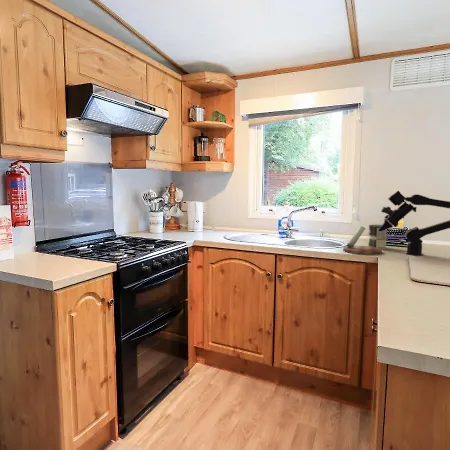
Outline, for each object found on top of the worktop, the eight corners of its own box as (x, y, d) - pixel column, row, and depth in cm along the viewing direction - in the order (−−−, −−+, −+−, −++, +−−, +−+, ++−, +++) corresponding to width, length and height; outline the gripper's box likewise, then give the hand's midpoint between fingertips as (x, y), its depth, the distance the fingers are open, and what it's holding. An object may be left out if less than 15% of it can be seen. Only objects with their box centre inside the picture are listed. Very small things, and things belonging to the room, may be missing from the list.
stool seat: (380, 250, 202) (380, 242, 202) (383, 255, 182) (383, 247, 182) (343, 248, 209) (343, 241, 209) (342, 253, 190) (342, 245, 190)
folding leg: (353, 246, 199) (365, 228, 196) (353, 247, 196) (365, 228, 193) (347, 243, 200) (360, 225, 197) (347, 244, 197) (360, 225, 194)
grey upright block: (367, 248, 209) (367, 225, 207) (369, 246, 217) (370, 224, 216) (385, 249, 203) (386, 226, 202) (386, 247, 212) (387, 225, 211)
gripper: (389, 201, 197) (368, 219, 202) (392, 201, 180) (369, 221, 185) (403, 214, 195) (381, 233, 200) (408, 216, 178) (384, 236, 183)
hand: (379, 230), depth 192 cm, fingers closed
